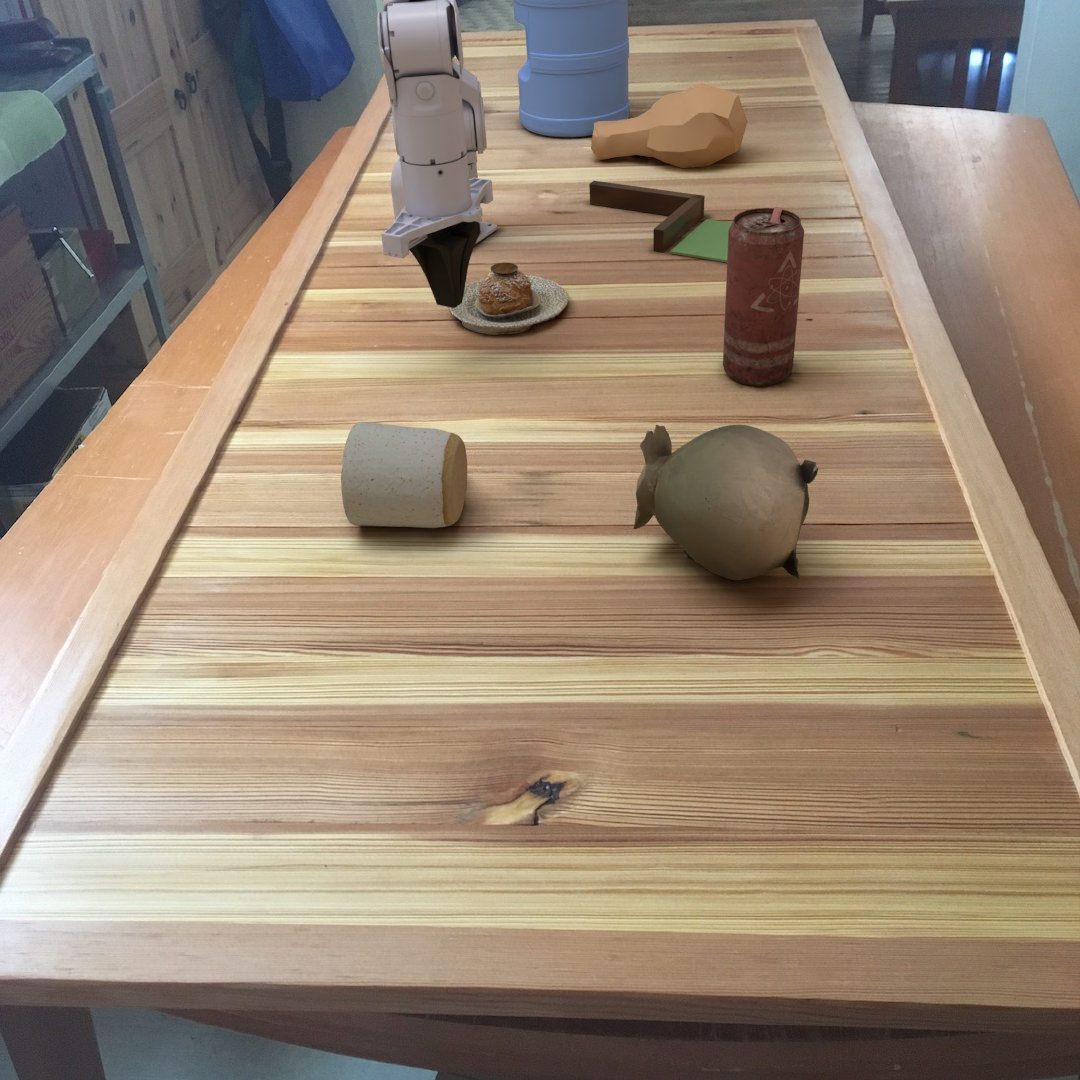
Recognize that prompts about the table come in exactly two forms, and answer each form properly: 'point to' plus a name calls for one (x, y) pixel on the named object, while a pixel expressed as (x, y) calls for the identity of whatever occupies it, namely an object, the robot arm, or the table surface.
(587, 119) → the water jug
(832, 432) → the table surface
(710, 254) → the green rag
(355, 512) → the ceramic mug
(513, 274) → the pastry
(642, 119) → the squash
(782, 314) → the can
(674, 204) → the corner guide
